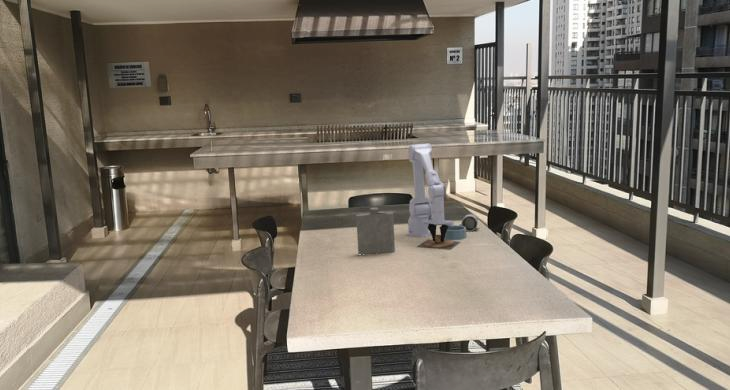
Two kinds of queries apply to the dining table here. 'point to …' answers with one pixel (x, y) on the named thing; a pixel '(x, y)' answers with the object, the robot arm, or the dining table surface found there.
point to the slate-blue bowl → (455, 233)
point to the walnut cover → (438, 243)
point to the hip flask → (375, 232)
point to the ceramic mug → (469, 222)
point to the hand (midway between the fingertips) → (438, 241)
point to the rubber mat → (440, 248)
